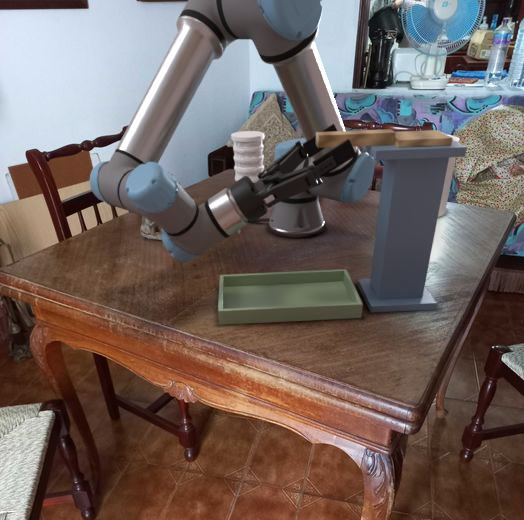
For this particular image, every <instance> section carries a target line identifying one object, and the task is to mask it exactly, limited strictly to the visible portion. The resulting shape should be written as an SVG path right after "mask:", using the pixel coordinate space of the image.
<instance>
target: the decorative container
mask: <svg viewBox="0 0 524 520" xmlns="http://www.w3.org/2000/svg"><path fill="white" fill-rule="evenodd" d="M230 137H231V141H233V145H232V151H233V154H234V155H233V161H234V165H233V169H234V171H235V173H234V174H235V175H234V181H235V182H236V181H238V180H239V179H241V178H242V177H244V176H248V177H249V178H250V179H251V180H252V182H253V183H256V182H257V181H258V180H259V178H258V176H257V175H258V174H259V173H261V172H262V171H264V170H265V165H264V159H265V156H264V146H265V145H264V144H263V140H264V139H265V137H266V136H265V132H262V131H258V130H243V131H235V132H233V133H231V134H230Z"/></svg>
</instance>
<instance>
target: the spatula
mask: <svg viewBox="0 0 524 520" xmlns="http://www.w3.org/2000/svg"><path fill="white" fill-rule="evenodd" d="M448 135H449V134H446V133H444V132H442V131H440V130H438V129H433V130H432V129H429V130H405V131H394V130H393V129H389V128H388V129H363V130H361V129H360V130H345V131H333V132H316V146H317V147H318V148H329V147H336V146H338V145H339V144H341V143H343V142H344V141H346V140H347V139H349V140H350V142H351V144H352V146H353V147H354V146H358V147H362V146H380V145H395V146H397V147H398V148H401V147H426V146H451V145H452V140H453V138H452V137H450V136H448Z"/></svg>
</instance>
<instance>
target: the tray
mask: <svg viewBox="0 0 524 520" xmlns="http://www.w3.org/2000/svg"><path fill="white" fill-rule="evenodd" d="M218 284H219V285H218V304H217V315H218V316H217V317H218V325H219V326H224V325H225V326H227V325H243V324H246V325H247V324H265V323H268V324H269V323H288V322H307V321H326V320H327V321H329V320H346V319H361V318H362V315H363V308H364V307H363V306H364V304H363V301H362V299H361V297H360V295H359V293H358V290H357V289H356V286H355V284H354V282H353V280H352V278H351V276H350V274H349V271H348V269H347V268H345V269H321V270H320V269H319V270H300V271H279V272H275V271H274V272H258V273H257V272H256V273H234V274H233V273H232V274H220V275H219V283H218Z"/></svg>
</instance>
